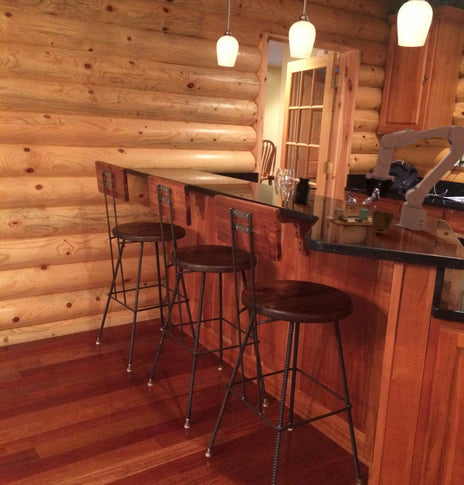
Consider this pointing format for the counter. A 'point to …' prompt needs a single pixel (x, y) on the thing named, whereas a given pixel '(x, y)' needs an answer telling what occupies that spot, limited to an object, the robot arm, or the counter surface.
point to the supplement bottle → (302, 191)
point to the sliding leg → (364, 214)
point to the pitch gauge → (347, 219)
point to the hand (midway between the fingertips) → (375, 197)
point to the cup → (381, 221)
